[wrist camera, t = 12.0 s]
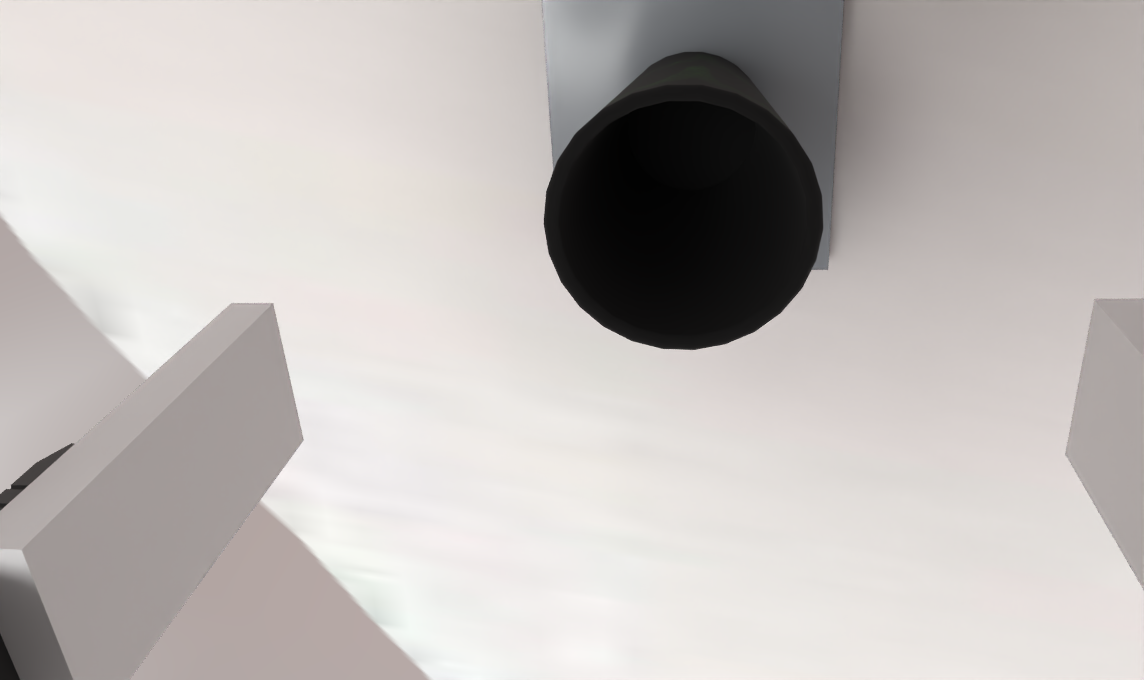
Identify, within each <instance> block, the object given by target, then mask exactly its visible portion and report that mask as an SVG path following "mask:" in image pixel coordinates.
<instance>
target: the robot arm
mask: <svg viewBox="0 0 1144 680" xmlns="http://www.w3.org/2000/svg"><path fill="white" fill-rule="evenodd" d="M303 440H304V439H303V435H302V430H301V426H300V422H299V417H298V413H297V408H296V404H295V399H294V395H293V390H292V386H291V381H290V377H289V372H288V368H287V363H286V359H285V354H284V350H283V346H282V341H281V337H280V332H279V328H278V323H277V319H276V314H275V310H274V305H273V303H231V304H230V305H229V306H228V307H227V308H226V309H225V310H223V311H222V312H221V313H220V314H219V315H218V316H217V317H216V318H215V319H213V320H212V321H211V322H210V323H209V324H208V325H207V326H206V327H205V328H203V329H202V330H201V331H200V332H199V333H198V334H197V335H196V336H195V337H193V338H192V339H191V340H190V341H189V342H188V343H187V344H186V345H184V346H183V347H182V348H181V349H180V350H179V351H178V352H177V353H176V354H174V355H173V356H172V357H171V358H170V359H169V360H168V361H167V362H166V363H164V364H163V365H162V366H161V367H160V368H159V369H158V370H157V371H156V372H154V373H153V374H152V375H151V376H150V377H149V378H148V379H147V380H145V382H143V383H142V384H141V385H140V386H139V387H138V388H137V389H135V390H134V391H133V392H132V393H131V394H130V395H129V396H128V397H127V398H126V399H124V400H123V401H122V402H121V403H120V404H119V405H118V406H117V407H115V408H114V409H113V410H112V411H111V412H110V413H109V414H108V415H106V416H105V417H104V418H103V419H102V420H101V421H100V422H99V423H98V424H97V425H95V426H94V427H93V428H92V429H91V430H90V431H89V432H88V433H86V434H85V435H84V436H83V437H82V438H81V439H80V440H79V441H78V442H77V443H75V444H72V443H71V444H70V445H68V446H66V447H64V448H63V449H61V450H59V451H57V452H55V453H53V454H51V455H50V456H48V457H46V458H45V459H42V460H40V461H39V462H37V463H36V464H34V465H33V466H32V467H31V468H30V469H29V470H28V471H26V472H25V473H24V474H23V475H22V476H21V477H20V478H19V479H17V480H16V481H15V482H14V483H13V484H12V485H11V489H6V490H5V491H4V492H2V493H1V494H0V680H130V679H131V677H132V676H133V675H134V673H135V672H136V670H137V669H138V668H139V666H140V665H141V663H142V662H143V660H144V659H145V658H146V657H147V655H148V654H149V652H150V651H151V650H152V648H153V647H154V646H155V644H156V643H157V641H158V640H159V639H160V637H161V636H162V635H163V633H164V632H165V630H166V629H167V628H168V626H169V625H170V623H171V622H172V621H173V619H174V618H175V617H176V615H177V614H178V613H179V611H180V610H181V608H182V607H183V606H184V604H185V603H186V601H187V600H188V599H189V597H190V596H191V595H192V593H193V592H194V590H195V589H196V588H197V586H198V585H199V583H200V582H201V581H202V579H203V578H204V577H205V575H206V574H207V573H208V571H209V570H210V568H211V567H212V566H213V564H214V563H215V562H216V560H217V559H218V557H219V556H220V555H221V553H222V552H223V551H224V549H225V548H226V546H227V545H228V543H229V542H230V541H231V539H232V538H233V537H234V535H235V534H236V533H237V531H238V530H239V528H240V527H241V526H242V524H243V523H244V522H245V520H246V519H247V517H248V516H249V515H250V513H251V512H252V511H253V509H254V508H255V506H256V505H257V504H258V502H259V501H260V500H261V498H262V497H263V495H264V494H265V493H266V491H267V490H268V489H269V487H270V486H271V484H272V483H273V482H274V480H275V479H276V477H277V476H278V475H279V473H280V472H281V471H282V469H283V468H284V466H285V465H286V464H287V462H288V461H289V460H290V458H291V457H292V455H293V454H294V453H295V451H296V450H297V449H298V447H299V446H300V444H301V443H302V442H303ZM1065 454H1066V456H1067V458H1068V460H1069V461H1070V463H1071V465H1072V467H1073V468H1074V470H1075V472H1076V473H1077V475H1078V477H1079V479H1080V480H1081V482H1082V484H1083V486H1084V487H1085V489H1086V491H1087V493H1088V494H1089V496H1090V498H1091V499H1092V501H1093V503H1094V505H1095V506H1096V508H1097V510H1098V512H1099V513H1100V515H1101V517H1102V518H1103V520H1104V522H1105V524H1106V525H1107V527H1108V529H1109V531H1110V532H1111V534H1112V536H1113V538H1114V539H1115V541H1116V543H1117V544H1118V546H1119V548H1120V550H1121V551H1122V553H1123V555H1124V557H1125V558H1126V560H1127V562H1128V563H1129V565H1130V567H1131V569H1132V570H1133V572H1134V574H1135V576H1136V577H1137V579H1138V581H1139V583H1140V584H1141V586H1142V588H1143V589H1144V299H1094V304H1093V309H1092V314H1091V320H1090V325H1089V330H1088V336H1087V341H1086V346H1085V352H1084V357H1083V362H1082V368H1081V373H1080V378H1079V384H1078V389H1077V395H1076V400H1075V405H1074V411H1073V416H1072V421H1071V427H1070V432H1069V437H1068V443H1067V448H1066V453H1065Z"/></svg>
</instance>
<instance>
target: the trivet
mask: <svg viewBox="0 0 1144 680" xmlns="http://www.w3.org/2000/svg"><path fill="white" fill-rule="evenodd" d="M843 8H844V0H542V13H543V28H544V42H545V56H546V70H547V85H548V99H549V113H550V128H551V142H552V156H553V171H554V168H555V165H556V162H557V160H558V159H559V157H560V156H561V154H562V153H563V151H564V150H565V148H566V147H567V145H568V144H569V142H570V141H571V139H572V138H573V136H574V135H575V133H576V132H577V131H578V130H580V129H581V128H582V127H583V126H584V125H585V124H586V123H587V122H588V121H590V120H591V119H592V118H593V117H594V116H595V115H596V114H597V113H598V112H599V111H601V110H602V109H603V108H604V107H605V106H606V105H607V104H608V103H609V102H611V101H612V100H613V99H614V98H615V97H616V96H617V95H618V94H619V93H621V92H622V91H623V90H624V89H625V88H626V87H627V86H628V85H629V84H630V83H632V82H633V81H634V80H635V79H636V78H637V77H638V76H639V75H640V74H642V73H643V72H644V71H645V70H646V69H647V68H648V67H649V66H650V65H652V64H654V63H656V62H657V61H659V60H661V59H663V58H665V57H667V56H670V55H674V54H678V53H682V52H705V53H709V54H713V55H717V56H720V57H722V58H724V59H726V60H728V61H730V62H732V63H733V64H735V65H736V66H737V67H739V68H740V69H741V70H742V71H743V72H744V73H745V74H746V75H747V76H748V77H749V78H750V79H751V81H752V82H753V83H754V84H755V86H756V87H757V88H758V90H759V91H760V92H761V93H762V95H763V96H764V97H765V98H766V100H767V101H768V102H769V103H770V105H771V106H772V107H773V109H774V110H775V111H776V112H777V114H778V115H779V116H780V117H781V119H782V120H783V121H784V122H785V124H786V125H787V126H788V128H789V129H790V130H791V131H792V133H793V134H794V135H795V137H796V139H797V140H798V142H799V143H800V145H801V146H802V148H803V150H804V151H805V153H806V154H807V156H808V157H809V159H810V161H811V162H812V164H813V167H814V171H815V174H816V177H817V180H818V183H819V187H820V190H821V193H822V203H823V233H822V237H821V242H820V246H819V251H818V255H817V260H816V262H815V264H814V266H813V268H812V270H828V263H829V246H830V229H831V212H832V195H833V178H834V161H835V144H836V127H837V110H838V93H839V76H840V59H841V42H842V25H843Z"/></svg>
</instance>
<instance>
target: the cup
mask: <svg viewBox="0 0 1144 680" xmlns="http://www.w3.org/2000/svg"><path fill="white" fill-rule="evenodd" d="M544 228H545V234H546V240H547V246H548V252H549V255H550V257H551V260H552V262H553V264H554V267H555V269H556V271H557V274H558V276H559V278H560V281H561V283H562V284H563V285H564V286H565V288H566V289H567V290H568V292H569V293H570V294H571V296H572V297H573V298H574V300H575V301H576V302H577V304H578V305H579V306H580V307H581V308H582V309H583V310H584V311H585V312H587V313H588V314H589V315H590V316H592V317H593V318H594V319H595V320H596V321H598V322H599V323H600V324H601V325H602V326H604V327H605V328H607V329H609V330H611V331H613V332H615V333H617V334H619V335H621V336H623V337H625V338H627V339H629V340H631V341H634V342H638V343H642V344H646V345H650V346H654V347H658V348H661V349H685V350H696V349H701V348H707V347H712V346H718V345H723V344H727V343H729V342H731V341H734V340H736V339H739V338H741V337H743V336H746V335H748V334H750V333H753V332H755V331H756V330H758V329H759V328H761V327H762V326H763V325H765V324H766V323H767V322H769V321H770V320H772V319H773V318H774V317H776V316H777V315H779V314H780V313H781V312H782V311H783V310H784V309H785V307H786V306H787V305H788V304H789V303H790V302H791V301H792V299H793V298H794V297H795V296H796V295H797V294H798V292H799V291H800V290H801V289H802V287H803V285H804V283H805V281H806V279H807V277H808V275H809V273H810V272H811V270H812V268H813V266H814V264H815V262H816V260H817V255H818V251H819V246H820V242H821V237H822V233H823V203H822V193H821V190H820V187H819V183H818V180H817V177H816V174H815V171H814V167H813V164H812V162H811V161H810V159H809V157H808V156H807V154H806V153H805V151H804V150H803V148H802V146H801V145H800V143H799V142H798V140H797V139H796V137H795V135H794V134H793V133H792V131H791V130H790V129H789V128H788V126H787V125H786V124H785V122H784V121H783V120H782V119H781V117H780V116H779V115H778V114H777V112H776V111H775V110H774V109H773V107H772V106H771V105H770V103H769V102H768V101H767V100H766V98H765V97H764V96H763V95H762V93H761V92H760V91H759V90H758V88H757V87H756V86H755V84H754V83H753V82H752V81H751V79H750V78H749V77H748V76H747V75H746V74H745V73H744V72H743V71H742V70H741V69H740V68H739V67H737V66H736V65H735V64H733V63H732V62H730V61H728V60H726V59H724V58H722V57H720V56H717V55H713V54H709V53H705V52H682V53H678V54H674V55H670V56H667V57H665V58H663V59H661V60H659V61H657V62H656V63H654V64H652V65H650V66H649V67H648V68H647V69H646V70H645V71H644V72H643V73H642V74H640V75H639V76H638V77H637V78H636V79H635V80H634V81H633V82H632V83H630V84H629V85H628V86H627V87H626V88H625V89H624V90H623V91H622V92H621V93H619V94H618V95H617V96H616V97H615V98H614V99H613V100H612V101H611V102H609V103H608V104H607V105H606V106H605V107H604V108H603V109H602V110H601V111H599V112H598V113H597V114H596V115H595V116H594V117H593V118H592V119H591V120H590V121H588V122H587V123H586V124H585V125H584V126H583V127H582V128H581V129H580V130H578V131H577V132H576V133H575V135H574V136H573V138H572V139H571V141H570V142H569V144H568V145H567V147H566V148H565V150H564V151H563V153H562V154H561V156H560V157H559V159H558V160H557V162H556V165H555V168H554V171H553V174H552V177H551V180H550V182H549V185H548V188H547V191H546V202H545V214H544Z"/></svg>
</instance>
